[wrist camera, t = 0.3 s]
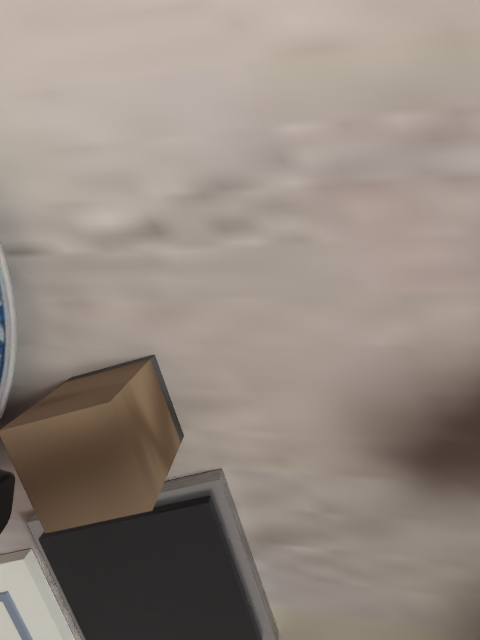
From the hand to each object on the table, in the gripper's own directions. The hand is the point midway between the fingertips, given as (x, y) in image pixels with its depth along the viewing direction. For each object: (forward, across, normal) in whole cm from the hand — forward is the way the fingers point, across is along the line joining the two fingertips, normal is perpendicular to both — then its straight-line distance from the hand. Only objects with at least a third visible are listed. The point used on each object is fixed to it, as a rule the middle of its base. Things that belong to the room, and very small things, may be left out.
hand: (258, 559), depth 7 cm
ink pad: (+14, +3, +16) cm, 21 cm away
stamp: (+14, +6, +6) cm, 16 cm away
